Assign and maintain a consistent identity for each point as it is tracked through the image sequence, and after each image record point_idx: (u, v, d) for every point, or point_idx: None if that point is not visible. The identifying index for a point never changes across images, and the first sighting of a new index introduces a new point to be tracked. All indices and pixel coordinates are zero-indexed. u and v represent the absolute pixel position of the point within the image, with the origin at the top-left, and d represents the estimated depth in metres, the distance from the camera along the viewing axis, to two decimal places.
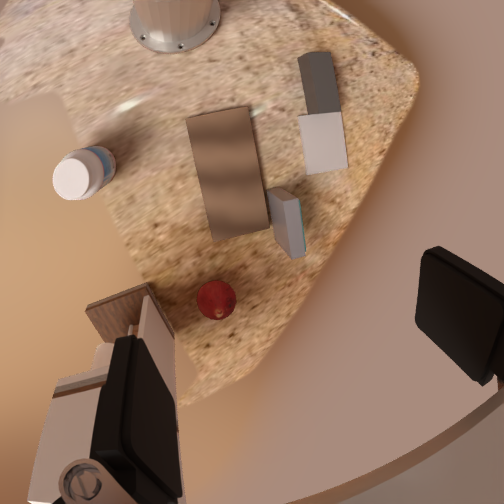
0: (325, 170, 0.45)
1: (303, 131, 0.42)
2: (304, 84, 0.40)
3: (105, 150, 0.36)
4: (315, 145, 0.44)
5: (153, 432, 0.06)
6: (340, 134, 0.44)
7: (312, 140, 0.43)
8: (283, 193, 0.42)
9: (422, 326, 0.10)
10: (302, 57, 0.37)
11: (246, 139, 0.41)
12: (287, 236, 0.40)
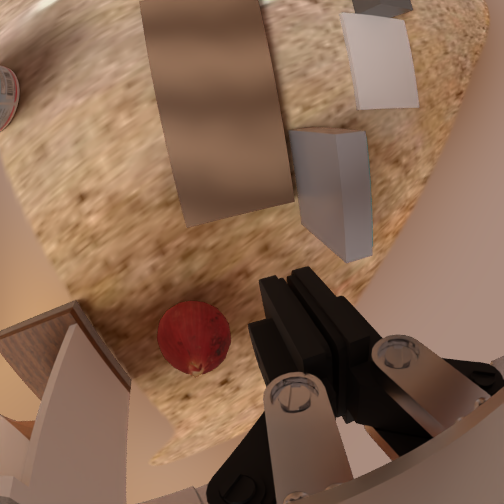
0: (387, 106, 0.23)
1: (351, 36, 0.20)
2: None
3: (0, 67, 0.14)
4: (371, 61, 0.21)
5: None
6: (406, 52, 0.21)
7: (365, 52, 0.21)
8: (326, 129, 0.19)
9: None
10: None
11: (251, 34, 0.18)
12: (340, 213, 0.18)
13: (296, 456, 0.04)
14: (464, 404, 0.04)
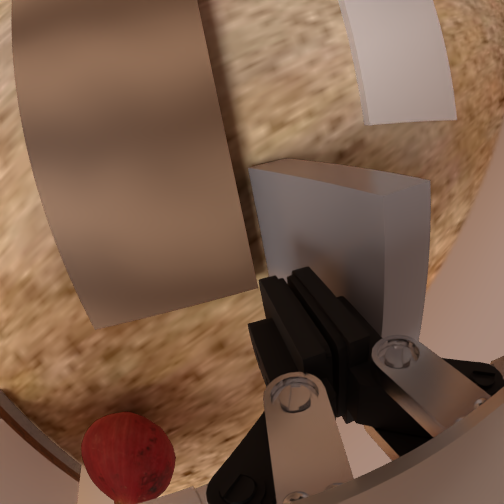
0: (412, 118, 0.14)
1: (351, 5, 0.11)
2: None
3: None
4: (385, 45, 0.12)
5: None
6: (436, 35, 0.12)
7: (376, 31, 0.12)
8: (329, 168, 0.10)
9: None
10: None
11: (172, 6, 0.09)
12: None
13: (296, 456, 0.04)
14: (464, 405, 0.04)
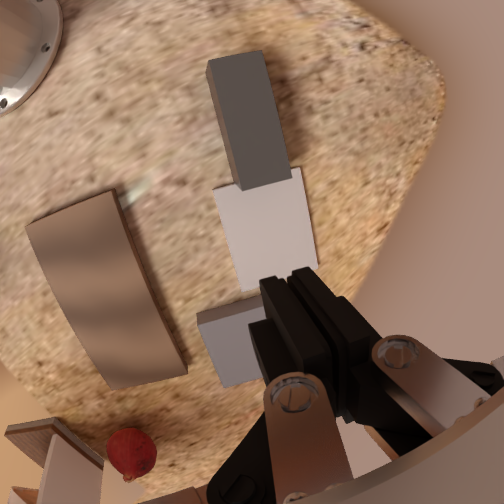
0: None
1: (225, 218, 0.24)
2: (219, 124, 0.21)
3: None
4: (252, 239, 0.25)
5: None
6: (300, 211, 0.25)
7: (244, 231, 0.25)
8: (243, 303, 0.27)
9: None
10: (207, 71, 0.19)
11: (119, 251, 0.22)
12: None
13: (296, 456, 0.04)
14: (464, 404, 0.04)
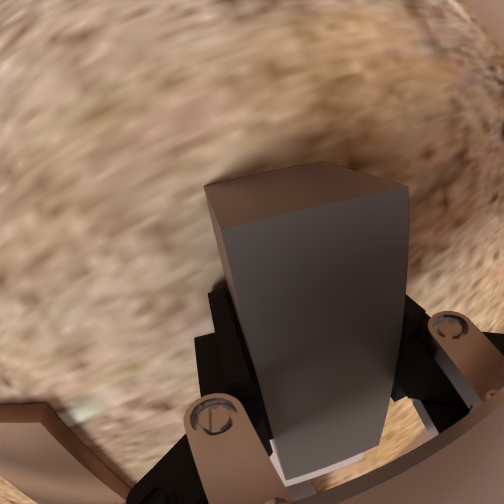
0: (303, 480, 0.15)
1: None
2: None
3: None
4: None
5: None
6: None
7: None
8: None
9: None
10: (212, 213, 0.07)
11: (78, 476, 0.10)
12: None
13: (226, 477, 0.04)
14: (497, 379, 0.04)
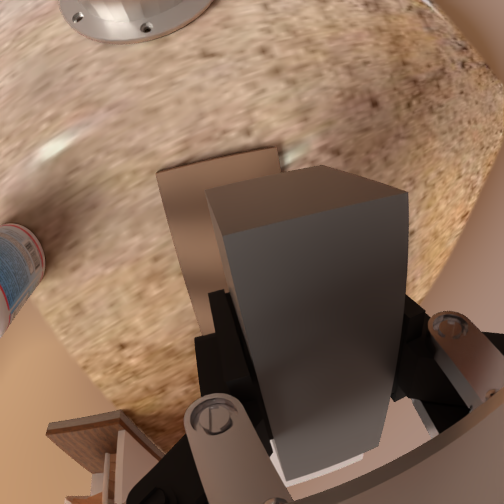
0: (304, 480, 0.15)
1: None
2: None
3: (19, 237, 0.18)
4: None
5: None
6: None
7: None
8: None
9: None
10: (213, 218, 0.07)
11: None
12: None
13: (226, 477, 0.04)
14: (498, 379, 0.04)
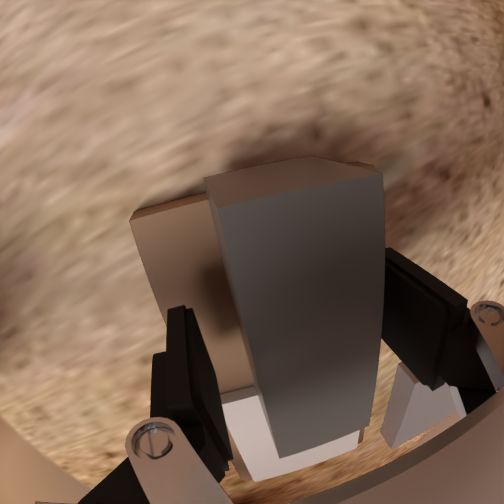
0: (299, 468, 0.16)
1: (238, 431, 0.13)
2: (235, 309, 0.10)
3: None
4: None
5: (210, 393, 0.07)
6: None
7: (266, 440, 0.14)
8: None
9: None
10: (210, 199, 0.08)
11: None
12: None
13: (174, 500, 0.04)
14: None
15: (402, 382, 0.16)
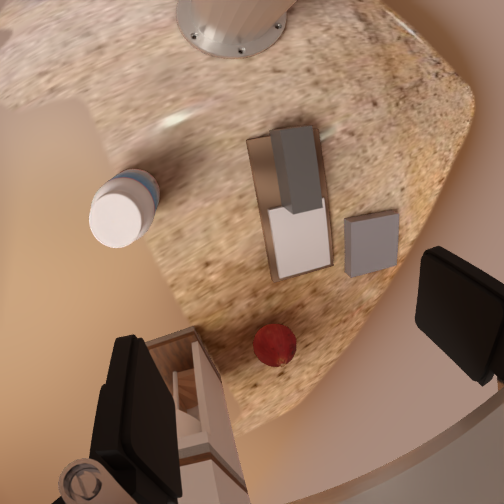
0: (302, 270, 0.40)
1: (275, 228, 0.37)
2: (277, 167, 0.34)
3: (148, 176, 0.31)
4: (290, 243, 0.38)
5: (153, 432, 0.06)
6: (322, 226, 0.38)
7: (286, 238, 0.37)
8: (372, 215, 0.40)
9: (422, 326, 0.10)
10: (274, 132, 0.31)
11: None
12: (395, 246, 0.41)
13: None
14: None
15: (347, 226, 0.40)
